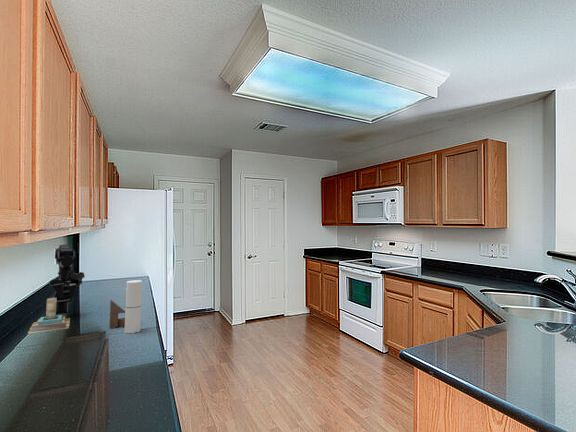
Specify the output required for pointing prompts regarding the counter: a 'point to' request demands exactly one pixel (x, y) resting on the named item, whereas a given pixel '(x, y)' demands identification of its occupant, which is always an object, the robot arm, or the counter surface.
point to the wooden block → (115, 315)
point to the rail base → (49, 326)
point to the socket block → (44, 321)
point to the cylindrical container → (133, 306)
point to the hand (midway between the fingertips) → (67, 297)
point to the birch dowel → (51, 308)
